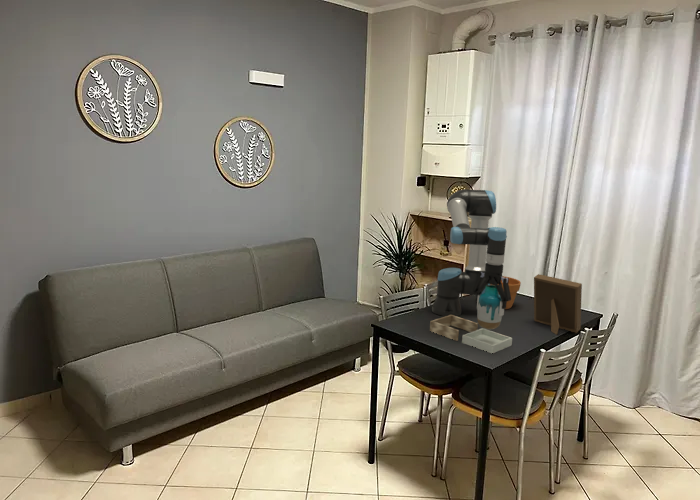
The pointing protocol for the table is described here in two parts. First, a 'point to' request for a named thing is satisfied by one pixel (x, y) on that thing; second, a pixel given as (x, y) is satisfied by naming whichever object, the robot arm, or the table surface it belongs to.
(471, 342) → the tray
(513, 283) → the flower pot
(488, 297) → the vase
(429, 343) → the table surface
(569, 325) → the photo frame
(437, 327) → the wooden open crate
